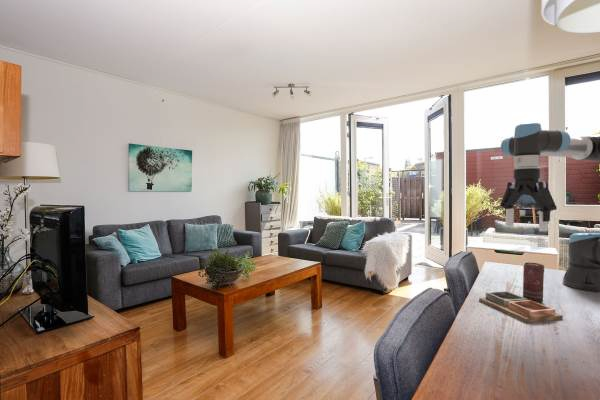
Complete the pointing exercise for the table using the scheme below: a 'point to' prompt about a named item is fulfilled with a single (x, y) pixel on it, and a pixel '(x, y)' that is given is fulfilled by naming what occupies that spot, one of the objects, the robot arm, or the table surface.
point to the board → (520, 307)
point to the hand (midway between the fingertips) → (525, 228)
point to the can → (533, 282)
